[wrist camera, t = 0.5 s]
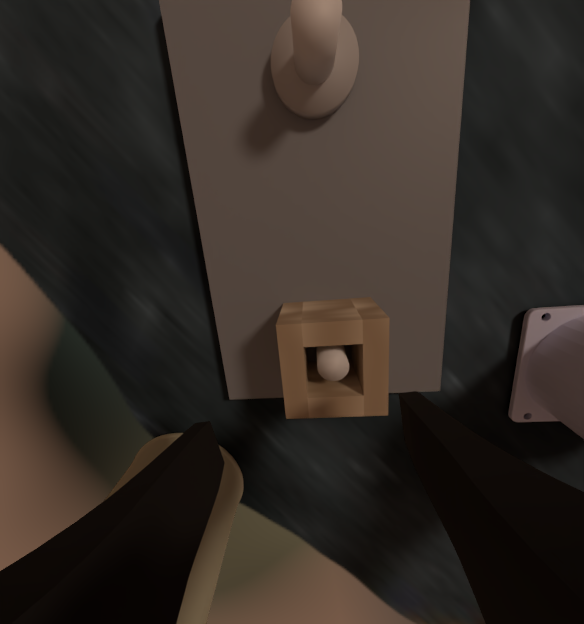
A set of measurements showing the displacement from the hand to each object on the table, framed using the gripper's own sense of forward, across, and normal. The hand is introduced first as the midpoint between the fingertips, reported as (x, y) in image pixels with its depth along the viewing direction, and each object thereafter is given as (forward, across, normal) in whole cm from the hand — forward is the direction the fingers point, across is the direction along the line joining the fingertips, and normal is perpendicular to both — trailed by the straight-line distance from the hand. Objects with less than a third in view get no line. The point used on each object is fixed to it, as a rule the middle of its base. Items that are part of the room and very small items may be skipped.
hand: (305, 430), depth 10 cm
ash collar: (+8, -1, 0) cm, 8 cm away
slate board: (+8, -2, -7) cm, 11 cm away
